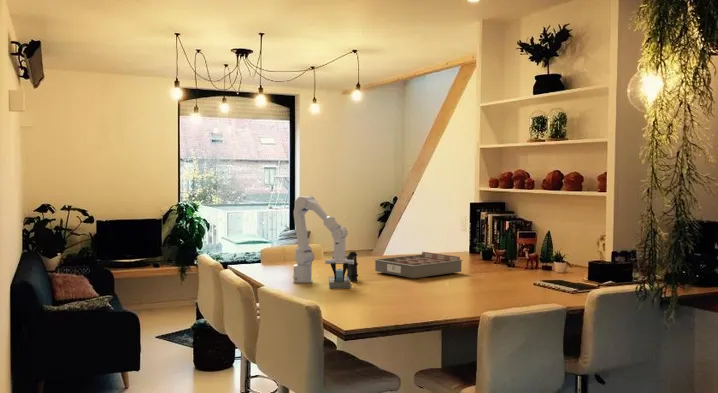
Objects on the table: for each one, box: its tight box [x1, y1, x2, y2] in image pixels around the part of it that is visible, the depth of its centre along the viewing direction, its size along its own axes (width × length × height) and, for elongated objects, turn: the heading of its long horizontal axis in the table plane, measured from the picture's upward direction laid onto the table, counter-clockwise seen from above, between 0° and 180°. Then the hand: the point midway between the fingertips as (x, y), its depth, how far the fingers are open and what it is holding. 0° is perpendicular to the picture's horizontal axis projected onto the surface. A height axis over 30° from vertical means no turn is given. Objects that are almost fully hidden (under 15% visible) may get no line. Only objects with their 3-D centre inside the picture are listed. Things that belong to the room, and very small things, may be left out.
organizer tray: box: [373, 251, 464, 279], centre depth 345 cm, size 32×40×10 cm
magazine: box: [345, 251, 359, 282], centre depth 321 cm, size 4×13×15 cm, turn 14°
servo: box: [336, 268, 343, 281], centre depth 304 cm, size 3×10×6 cm, turn 4°
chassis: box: [328, 275, 351, 290], centre depth 304 cm, size 10×18×3 cm, turn 4°
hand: (339, 278), depth 304 cm, fingers closed on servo, 3 cm apart
